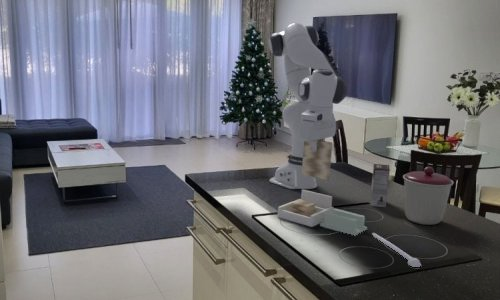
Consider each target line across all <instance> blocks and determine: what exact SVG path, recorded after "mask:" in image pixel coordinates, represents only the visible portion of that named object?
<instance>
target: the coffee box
mask: <svg viewBox="0 0 500 300" xmlns="http://www.w3.org/2000/svg"><path fill="white" fill-rule="evenodd" d="M372 170H373V171H372V180H371V188H370V189H371V190H370V206H371V207H379V208H380V207H381V208H386V206H387V199H388V198H387V197H388V188H389V182H390V181H389V179H390V170H391V169H390V165H389V164H379V163H373V167H372Z"/></svg>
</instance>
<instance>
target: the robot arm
mask: <svg viewBox="0 0 500 300" xmlns="http://www.w3.org/2000/svg"><path fill="white" fill-rule="evenodd" d="M319 38H320V37H319V33H318V31H317V29H316V27H314V26H313V25H305V26H304V24H301V23H297V22H293V23H291V24H289V25H288V26H286V28H285V29H284V30H282V31H278V32H274V33H272V34H271V35H270V36H269V40H268V48H269V51H270V53H271V55H273V56H274V57H282V56H283V57H284V59H283V61H284V70H285V71H284V72H285V76H286V81H287V86H288V90H289V92H290V94H292V95H293V96H294V98H296V99H297V101H296V102H295V101H294V102H292V103H288V104H287V105H285V106H284V108H283V110H282V112H281V113H282V114H281V115H282V120H283V122H284V124H286V125H287V126H288V129H289V130H290V134H291V140H292V141H291V142H292V143H291V154H289V155H286V156H285V157H286V159H288V160H287V162H285V163H284V164H282V165H281V166H279V167H278V168H277V169H276V171H275V173H274V176H273V177H271V178H270V179H269V182H270V183H272V184H275V185H278V186H281V187H283V188H287V189H289V190H297V189H298V190H311V189H315V188H317V187H318V183H317V178H315V177H311V176H307V175H302V163H303V150H304V141H307V142H310V141H311V144H312V151H318V146H317V142H318V140H321V141H326V139H328V138H331V137H335V135H336V133H337V130H336V129H337V128H336V127H337V120H336V118H335V115H334V113H333V110H334V105H338V104H340V103H341V102H343V100H344V99H345V98H346V97H347V96H348V95H347V94H348V85H347V83H346V81H344V79H343V78H342V77H341V76H340V75H339V73H338V72H337V70H336V68H335V67H334V65H333V64H332V62H331V60H330V59H329V57H328V56H327V55H326V54H325V52H323V51H322V50H321V49H319V47H317V46H318V45H319ZM310 69H313V71H312V73H311V70H310Z"/></svg>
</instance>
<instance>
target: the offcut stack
mask: <svg viewBox="0 0 500 300" xmlns="http://www.w3.org/2000/svg"><path fill="white" fill-rule="evenodd" d="M297 200H298V199H297ZM294 201H295V200H294ZM292 202H293V201H292ZM292 212H293V213H297V214H300V215H304V216H307V217H310V216H311V215H313V214H315V203H311V202H307V201H303V200H298V201H295V202H293V203H292Z"/></svg>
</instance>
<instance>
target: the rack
mask: <svg viewBox="0 0 500 300" xmlns="http://www.w3.org/2000/svg"><path fill="white" fill-rule="evenodd" d="M300 195H301V196H300V198H297V199H296V200H294V201H293V200H292V201H290V202H287V203H284V204H283V205H279V206H277V218H279V219H284V220H286V221H291V222H293V223H297V224H300V225H303V226H307V227H311V228H312V227H315V226H317V225H320V223H322V222H324V213H326V212H330V213H332V209H335V208H334V206H332V204H333V203H332V202H333V196H332V195H327V194H323V193H318V192H315V191H311V190H308V189H301V194H300ZM298 200H303V201H307V202H311V203H315V214H313V215H311V216H310V217H307V216H304V215H300V214H297V213H293V212H292V203H293V202H295V201H298Z"/></svg>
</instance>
